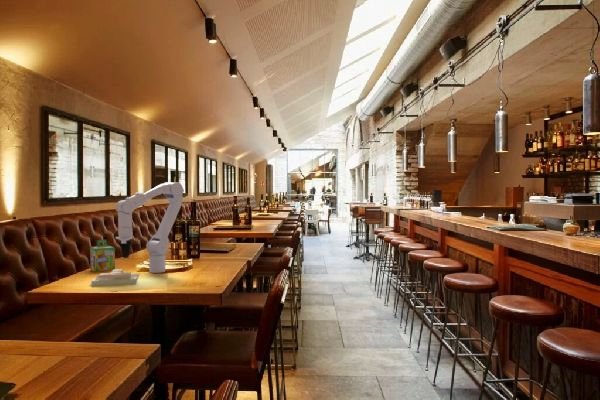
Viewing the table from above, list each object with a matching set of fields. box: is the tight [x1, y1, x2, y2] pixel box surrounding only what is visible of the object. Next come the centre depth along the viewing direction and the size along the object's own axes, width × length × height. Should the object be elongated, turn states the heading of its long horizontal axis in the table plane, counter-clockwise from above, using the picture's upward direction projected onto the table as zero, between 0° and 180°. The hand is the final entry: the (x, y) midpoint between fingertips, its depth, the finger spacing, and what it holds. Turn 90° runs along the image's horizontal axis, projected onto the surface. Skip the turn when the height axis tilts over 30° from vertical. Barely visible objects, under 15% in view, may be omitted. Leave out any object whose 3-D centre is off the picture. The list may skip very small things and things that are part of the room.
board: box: [89, 273, 141, 287], centre depth 203 cm, size 22×18×1 cm
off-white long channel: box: [91, 277, 138, 287], centre depth 195 cm, size 5×17×2 cm, turn 105°
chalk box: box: [89, 239, 116, 272], centre depth 229 cm, size 9×9×15 cm
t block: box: [98, 268, 132, 280], centre depth 199 cm, size 12×12×4 cm
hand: (125, 257), depth 210 cm, fingers closed
